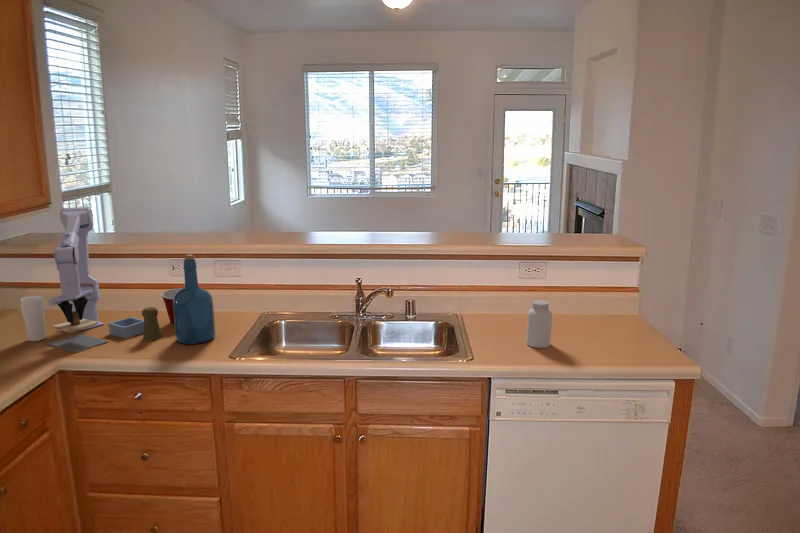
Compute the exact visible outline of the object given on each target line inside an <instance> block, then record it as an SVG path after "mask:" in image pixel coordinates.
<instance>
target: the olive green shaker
mask: <svg viewBox="0 0 800 533" xmlns="http://www.w3.org/2000/svg"><path fill="white" fill-rule="evenodd" d="M141 315H142V317H143V320H144V333H142V335H143V336H142V339H143V341H145V342H146V341H148V342H149V341H150V342H151V341H158V340H160V339H161V338H162V333H161V328H160V324H159V320H158V315H159V310H158V308H157V307H155V306H149V307H145V308H142V311H141Z"/></svg>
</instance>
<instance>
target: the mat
mask: <svg viewBox="0 0 800 533" xmlns="http://www.w3.org/2000/svg"><path fill="white" fill-rule="evenodd" d="M108 343H109V341H108V340H106V339H102V338H97V337H95V336H92V335H89V334H84V333H83V332H82V333H77V334H73V335H70V336H68V337H64V338H60V339H57V340H53V341H51V342H47V343H46V344H47V345H48V344H49V345H48V346H51V345H52V346H51V347H54V346H55V347H54V348H57V347H59V348H58V349H60V348H62V349H61V350H63V349H64V350H63V351H66V350H68V351H67V352H69V351H70V352H69V353H72V352H73V354H77V353H80V352H82V350H83V351H86V350H89V349H92V348H91V347H93V348H95V346H96V347H98V346H101V345H105V344H108ZM85 349H86V350H85ZM79 351H80V352H79ZM76 352H77V353H76Z"/></svg>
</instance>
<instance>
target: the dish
mask: <svg viewBox="0 0 800 533" xmlns="http://www.w3.org/2000/svg"><path fill="white" fill-rule="evenodd" d="M108 331H109V335H112V336H115V337H119V338H122V339H128V338H132V337H134V336H137V335H141V334H144V319H141V318H137V317H133V316H129V317H125V318H123V319H119V320H115V321H112V322H108Z"/></svg>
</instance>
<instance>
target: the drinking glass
mask: <svg viewBox="0 0 800 533" xmlns="http://www.w3.org/2000/svg"><path fill="white" fill-rule="evenodd" d="M44 301H45V300H44V297H43V295H30V296H29V295H28V296H24V297H21V299H20V308H21V313H22V316H23V320H24V321H23V322H24V324H25V329H26V333H27V337H28V338H27V339H28V341H30V342H41V341H44V340H46V338H47V333H46V313H45V311H46V310H45V302H44ZM43 339H44V340H43ZM40 340H41V341H40Z"/></svg>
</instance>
